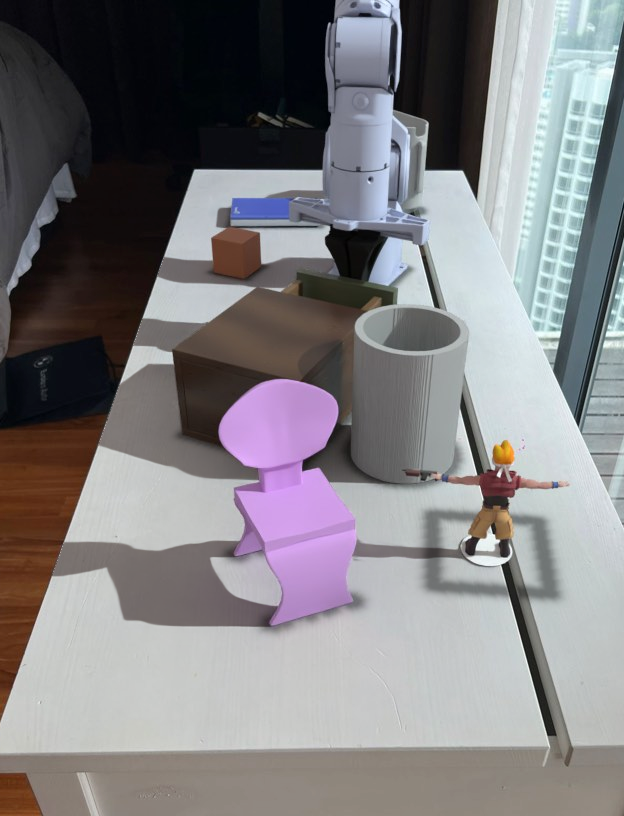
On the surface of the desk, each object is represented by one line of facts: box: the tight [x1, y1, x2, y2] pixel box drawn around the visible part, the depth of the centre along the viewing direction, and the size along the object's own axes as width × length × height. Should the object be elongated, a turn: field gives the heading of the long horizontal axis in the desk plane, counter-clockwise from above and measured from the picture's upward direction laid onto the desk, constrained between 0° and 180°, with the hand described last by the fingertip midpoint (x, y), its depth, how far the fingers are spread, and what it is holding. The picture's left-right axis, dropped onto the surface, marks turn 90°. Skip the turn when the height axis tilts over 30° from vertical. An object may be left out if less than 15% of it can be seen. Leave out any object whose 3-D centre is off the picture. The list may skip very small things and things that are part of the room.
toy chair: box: [218, 379, 358, 627], centre depth 57 cm, size 8×9×15 cm
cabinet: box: [171, 286, 368, 468], centre depth 77 cm, size 15×12×9 cm
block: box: [210, 226, 262, 280], centre depth 104 cm, size 4×4×4 cm
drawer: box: [280, 267, 399, 311], centre depth 84 cm, size 18×11×7 cm, turn 155°
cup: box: [350, 303, 470, 485], centre depth 71 cm, size 9×9×12 cm
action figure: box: [402, 439, 571, 567], centre depth 62 cm, size 12×3×9 cm, turn 86°
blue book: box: [229, 197, 321, 227], centre depth 120 cm, size 2×8×12 cm
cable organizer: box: [391, 109, 429, 214], centre depth 121 cm, size 7×12×12 cm, turn 38°
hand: (355, 299), depth 89 cm, fingers closed, pressing on drawer
